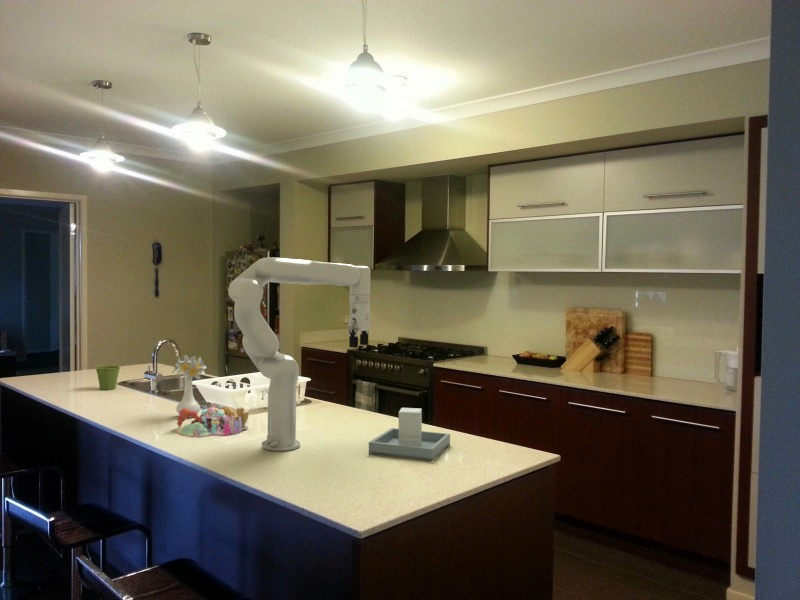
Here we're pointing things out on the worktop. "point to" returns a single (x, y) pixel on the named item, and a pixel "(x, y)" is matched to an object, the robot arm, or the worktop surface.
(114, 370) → the plant pot
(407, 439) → the supplement box
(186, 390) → the flower vase
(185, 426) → the candy landscape model
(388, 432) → the tray
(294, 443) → the robot arm
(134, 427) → the worktop surface
